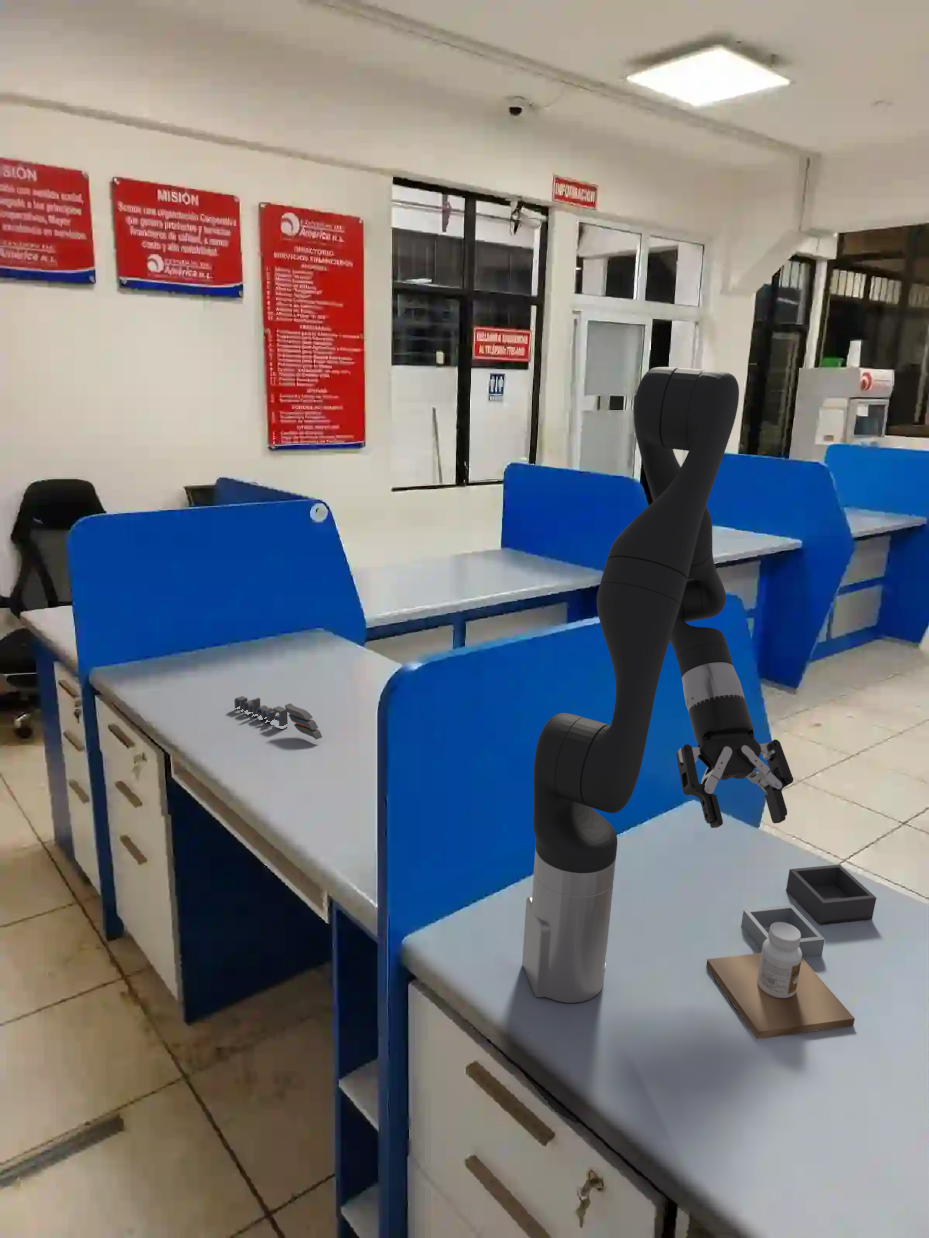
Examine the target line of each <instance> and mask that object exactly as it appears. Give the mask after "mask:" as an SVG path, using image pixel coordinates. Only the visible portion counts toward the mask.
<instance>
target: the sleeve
mask: <svg viewBox="0 0 929 1238" xmlns="http://www.w3.org/2000/svg"><path fill="white" fill-rule="evenodd" d="M742 912H743V913H742V917H741V924H740V926H741V928H742V929H743V930H744V931H745V933H746V934H747V935H748V936H749V938H750V939H751V940H752V941H753V942H754V943H755V945H756V946H757V947H758V949H759V950H760V951H761V952H762V946H763V943H764V941H765V940H766V939H768V934H769V932H768V931H767V930H766V929H765V928H764V927H770V926H771V924H773V923H775V922H784V923H788V924H791V925H793V926H794V927H796V928H797V929H798V930H799V931H800V933H801V939H800V945H799V948H800V949H801V951H802V958H803V959H807V958H816V957H822V956H823V952H824V951H823V950H824V946H825V940H826V939H825V938H824V936H822V934H820V932H818V930H817V929H816V928H815V927H814V926H813V925H812V924H811V923H810V921H808V920H807V918H805V917H804V915H803V914H802V913H801V912H800V911H799V909H797V907H795V905H793V904H786V905H777V906H767V907H759V908H748V909H743V911H742Z"/></svg>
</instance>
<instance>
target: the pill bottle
mask: <svg viewBox="0 0 929 1238" xmlns="http://www.w3.org/2000/svg"><path fill="white" fill-rule="evenodd" d="M800 939H801V933H800V931H799V930H798V929H797V928H796V927H794V926H793V925H791V924H788V923H784V922H775V923H773V924H771V926H769V930H768V939H766V940H765V941H764V943H763V946H762V951H761V952H760V953H761V958H760V964H759V970H758V977H757V982H758V985H759V986H760V988H761V989H762V990H763V991H764V992H766V993H767V994H769V995H771V996H774V997H777V998H788V997H791V996H793V995H794V994H795V992H796V988H797V982H798V977H799V971H800V966H801V960H802V951H801V949H800V948H799V945H800Z"/></svg>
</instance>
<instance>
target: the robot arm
mask: <svg viewBox="0 0 929 1238" xmlns="http://www.w3.org/2000/svg"><path fill="white" fill-rule="evenodd" d="M739 399H740V386H739V383H738V380H737V378H736V376H735V375H733V374H731V373H730V372H727V371H723V370H712V369H703V368H702V369H701V368H689V367H675V366H658V367H657V366H656V367H652V368H650V369H649V370H647V371H646V373H645V374H644V375H643V376H642V378H641V380H640V382H639V384H638V386H637V390H636V393H635V398H634V405H633V426H634V432H635V437H636V442H637V447H638V451H639V454H640V458H641V461H642V466H643V470H644V471H643V472H644V474H645V478H646V481H647V484H648V485H647V486H648V488H649V492H650V495H651V499H652V502H651V504H649V505H648V506H647V507H646V508H645V509H644V510H643V511H641V512H640V514H638V515H637V516H636V517H635V518H634V519H633V520H632V521H631V522H630V523H629V524H628V525H627V526H626V527H625V528H624V529H623V530H622V531H621V532H620V534H619V535H618V536H617V537H616V538H615V540H614V541H613V542H612V545H611V546H610V548H609V552H608V556H607V559H606V562H605V565H604V568H603V571H602V576H601V579H600V582H599V587H598V589H597V590H598V591H597V594H596V610H597V616H598V619H599V620H598V621H599V625H600V627H601V631H602V634H603V637H604V640H605V644H606V647H607V650H608V652H609V656H610V660H611V664H612V668H613V672H614V678H615V698H614V699H615V701H614V708H613V714H612V720H611V723H610V724H608V723H604V722H601V721H598V720H595V719H590V718H586V717H583V716H581V715H576V714H572V713H569V712H568V713H566V712H561V713H556V714H555V715H553V716H551V718H549V719H548V721H546V723H545V724H544V726H543V728H542V729H541V731H540V734H539V736H538V741H537V744H536V747H535V754H534V762H533V810H532V811H533V812H532V813H533V814H532V815H533V817H532V828H533V833H534V836H535V848H534V849H535V850H534V851H535V852H534V861H533V862H534V864H533V865H534V866H533V877H532V878H533V880H532V892H531V893H532V895H531V896H528V897H526V901H525V902H526V904H525V913H524V914H525V918H524V932H523V944H522V945H523V947H522V959H521V960H522V962H521V963H522V967H523V969H524V972H525V974H526V977H527V979H528V982H529V984H530V987H531V989H532V992H533V994H534V996H535V997H536V998H548V999H550V1000H553V1001H557V1002H562V1003H574V1004H575V1003H582V1002H584V1001H589V1000H590V999H592V998H595V996H597V995H598V994H599V993H600V992H601V990H602V989H603V985H604V982H605V981H604V980H605V973H606V962H607V952H608V951H607V950H608V941H609V933H610V920H611V911H612V902H613V900H612V899H613V892H614V891H613V889H614V880H615V870H616V869H615V868H616V860H617V852H618V851H617V850H618V836H617V832H616V830H615V828H614V826H613V825H612V824H611V822H609V821H608V820H607V819H606V818H605V817H603V816H602V815H601V814H600V813H599V812H597V810H598V811H601V812H605V813H610V814H616V813H619V812H621V811H622V810H623V809H624V808H625V807H626V806H627V804H628V803H629V801H630V800H631V798H632V795H633V793H634V791H635V788H636V785H637V782H638V780H639V775H640V772H641V768H642V763H643V758H644V755H645V754H644V753H645V750H646V744H647V739H648V734H649V730H650V729H649V728H650V723H651V718H652V713H653V707H654V704H655V698H656V694H657V689H658V684H659V681H660V675H661V672H662V668H663V665H664V661H665V657H666V655H667V654H666V653H667V651H668V647H669V644H670V645H671V647H672V649H673V652H674V654H675V658H676V661H677V665H678V668H679V673H680V676H681V682H682V689H683V695H684V696H683V697H684V701H685V706H686V708H687V712H688V715H689V720H690V724H691V727H692V731H693V734H694V739H695V742H696V743H697V747H696V746H695V747H692V746H691V745H690V744H688V743H687V744H684V745H683V746H682V747H681V748H679V749H678V750H677V751H676V753H675V756H676V760H677V761H676V762H677V767H678V773H679V777H680V783H681V787H682V788H681V790H682V793H683V794H684V795H686V796H694V797H696V798H698V799H699V801H700V804H701V810H702V813H703V816H704V817H703V818H704V821H705V822H706V824H709V826H710V828H711V829H714V828H715V829H716V828H720V827H721V826H722V825H723V824H724V820H723V816H722V811H721V808H720V805H719V804H720V803H719V801H718V798H717V794H714V791H715V789H716V787H717V785H718V782H719V781H720V779H721V781H724V780H725V781H726V780H730V779H738V780H741V779H742V780H743V779H745V778H747V779H748V780H749V782H751V783H752V784H756V785H757V786H758V787H759V788H761V790H762V791H763V792H764V793H765V795H764V798H765V801H766V804H767V809H768V812H769V816H770V819H771V821H772V824H780V823H782V822H784V821H785V820H786V816H788V809H787V804H786V803H785V798H784V796H783V789H784V788H786V787H787V786H789V785H791V784H792V783H794V777H793V774H792V772H791V769H790V767H789V762H788V761H787V758H786V754H785V752H784V750H783V747H782V744H781V741H779V739H772V740H771V741H769V742H765V743H759V742H758V740H757V739H756V738H755V734H754V733H755V732H754V725H753V721H752V718H751V714H750V712H749V708H748V704H747V701H746V697H745V694H744V690H743V687H742V684H741V680H740V679H739V676H738V674H737V672H736V670H735V667H734V663H733V660H732V656H731V653H730V649H729V646H728V643H727V639H726V637H725V635H724V633H723V632H722V631H721V630H719V629H717V628H714V627H707V626H706V627H705V626H694V625H691V624H688V622H695V621H700V620H705V619H711V618H714V617H717V616H718V615H719V614H720V613H721V612H722V611H723V609H724V608H725V605H726V602H727V595H726V589H725V586H724V584H723V582H722V580H721V577H720V575H719V573H718V571H717V568H716V565H715V561H714V554H713V522H712V521H713V520H712V516H711V513H710V510H709V508H708V506H707V504H708V501H709V498H710V494H711V492H712V489H713V486H714V485H715V484H714V483H715V481H716V478H717V475H718V472H719V469H720V466H721V464H722V461H723V457H724V454H725V452H726V449H727V446H728V444H729V440H730V437H731V434H732V431H733V428H734V425H735V421H736V417H737V413H738V408H739V402H740V401H739ZM674 450H679V451H688V452H687V454H686V457H685V459H684V461H683V463H682V464H681V465H680V463H679V461H678V459H677V457H676V455H675V454H676V453H675V452H674ZM760 755H762V758H763V760H766V761H767V764H768V765H767V764H766V763H764V761H763V760H761V759H760ZM698 759H699V760H700V761H701V762H702V764H704V766H706V769H705V771H704V774H703V775H702V778H701V783H700V782H699V777H698V772H697V767H696V766H697V765H696V762H697V761H698Z"/></svg>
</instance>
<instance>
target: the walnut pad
mask: <svg viewBox="0 0 929 1238" xmlns="http://www.w3.org/2000/svg"><path fill="white" fill-rule="evenodd" d="M760 958H761V952H758V953H750V954H743V955H742V954H741V955H734V956H733V955H732V956H724V957H715V958H707V959H706V968H707V969H708V970H709V972H710V974H711V975H712V976H713V978H714V979H715V981H716V982H717V983H718V984H719V986H720V988H721V989H722V990H723V992H724V993H725V995H726V996H727V998H728V999H729V1001H730V1002H731V1003H732V1005H733V1006H734V1008H735V1009H736V1011H737V1012H738V1014H739V1015H740V1016H741V1017H742V1019H743V1020H744V1022H745V1023H746V1025H747V1026H748V1028H749V1029H750V1031H751V1032H752V1033H753V1035H754V1036H755V1037H756V1039H757V1040H761V1039H766V1038H772V1037H773V1038H775V1037H780V1036H788V1035H789V1036H790V1035H796V1034H802V1033H810V1032H817V1031H816V1030H819V1031H826V1030H833V1029H838V1028H839V1029H840V1028H847V1027H853V1026H854V1024H855V1020H856V1017H854V1016H853V1014H852V1013H850V1011H849V1009H847V1007H845V1005H844V1004H843V1003H842V1002H841V1001H840V1000H839V998H838V997H837V996H836V995H835V993H833V991H832V990H831V989H830V988H829V987H828V986H827V985H826V983H825V982H824V981H823V980H822V979H821V977H820V976H818V974H817V973H816V972H815V971H814V970H813V968H812V967H811V966H810V965H809V964H808V963H807V961H805V958H802V960H801V966H800V971H799V977H798V982H797V988H796V992H795V994H794V995H793V996H791V997H788V998H777V997H774V996H771V995H769V994H767V993H766V992H764V991H763V990H762V989H761V988H760V986H759V985H758V982H757V977H758V970H759V964H760ZM832 1028H833V1029H832Z"/></svg>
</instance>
